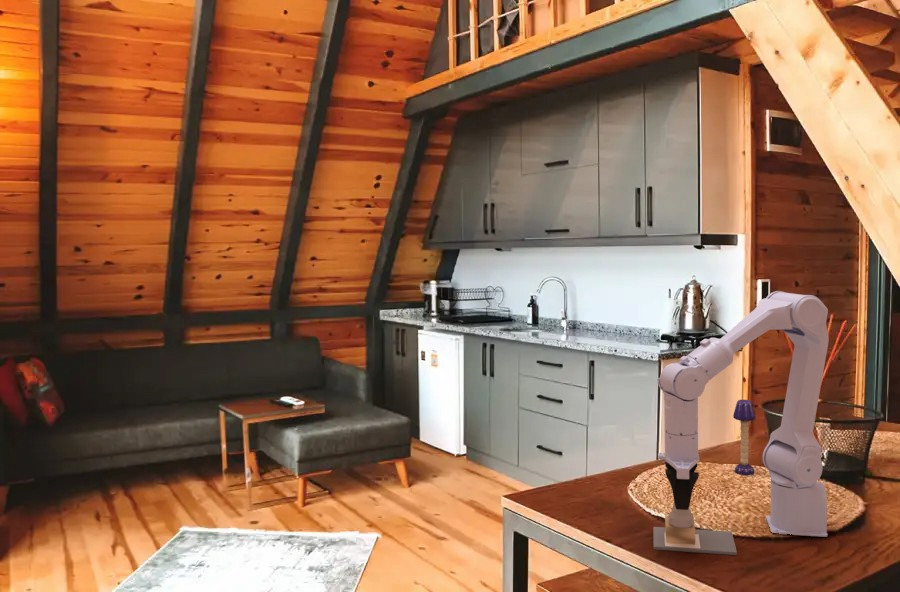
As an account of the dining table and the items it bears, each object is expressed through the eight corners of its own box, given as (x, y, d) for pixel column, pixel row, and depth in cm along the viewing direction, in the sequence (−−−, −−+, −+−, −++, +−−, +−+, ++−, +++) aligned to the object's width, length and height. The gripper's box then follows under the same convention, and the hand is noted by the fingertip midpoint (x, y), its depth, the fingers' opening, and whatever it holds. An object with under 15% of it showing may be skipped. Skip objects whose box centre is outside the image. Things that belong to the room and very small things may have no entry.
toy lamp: (758, 475, 174) (758, 402, 173) (737, 476, 174) (737, 403, 173) (750, 468, 179) (750, 397, 177) (730, 469, 179) (730, 398, 177)
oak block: (693, 533, 143) (693, 517, 143) (695, 544, 138) (695, 528, 138) (665, 531, 144) (665, 515, 144) (666, 542, 140) (666, 526, 139)
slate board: (731, 534, 144) (731, 531, 143) (736, 555, 135) (736, 551, 135) (653, 529, 147) (653, 526, 147) (653, 549, 138) (653, 546, 138)
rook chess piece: (697, 528, 138) (696, 484, 137) (671, 529, 138) (671, 485, 137) (690, 519, 142) (690, 476, 141) (665, 519, 142) (665, 477, 142)
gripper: (657, 419, 146) (658, 489, 148) (658, 442, 132) (659, 519, 134) (696, 421, 145) (697, 491, 146) (701, 443, 131) (702, 521, 132)
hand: (681, 505), depth 140 cm, fingers open, 3 cm apart
